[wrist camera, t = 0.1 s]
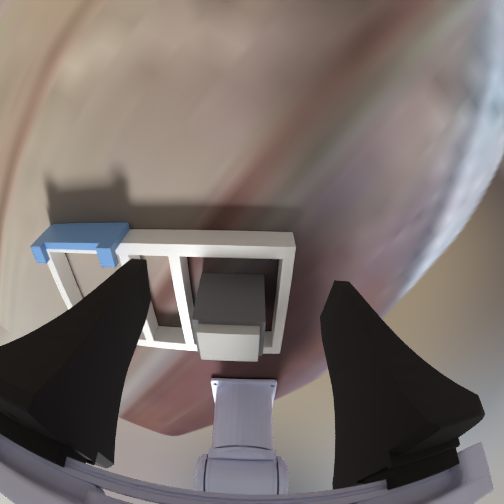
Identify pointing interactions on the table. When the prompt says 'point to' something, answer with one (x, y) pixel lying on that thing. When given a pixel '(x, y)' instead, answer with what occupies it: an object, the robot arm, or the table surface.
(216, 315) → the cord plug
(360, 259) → the table surface
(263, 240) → the white cubby shelf
